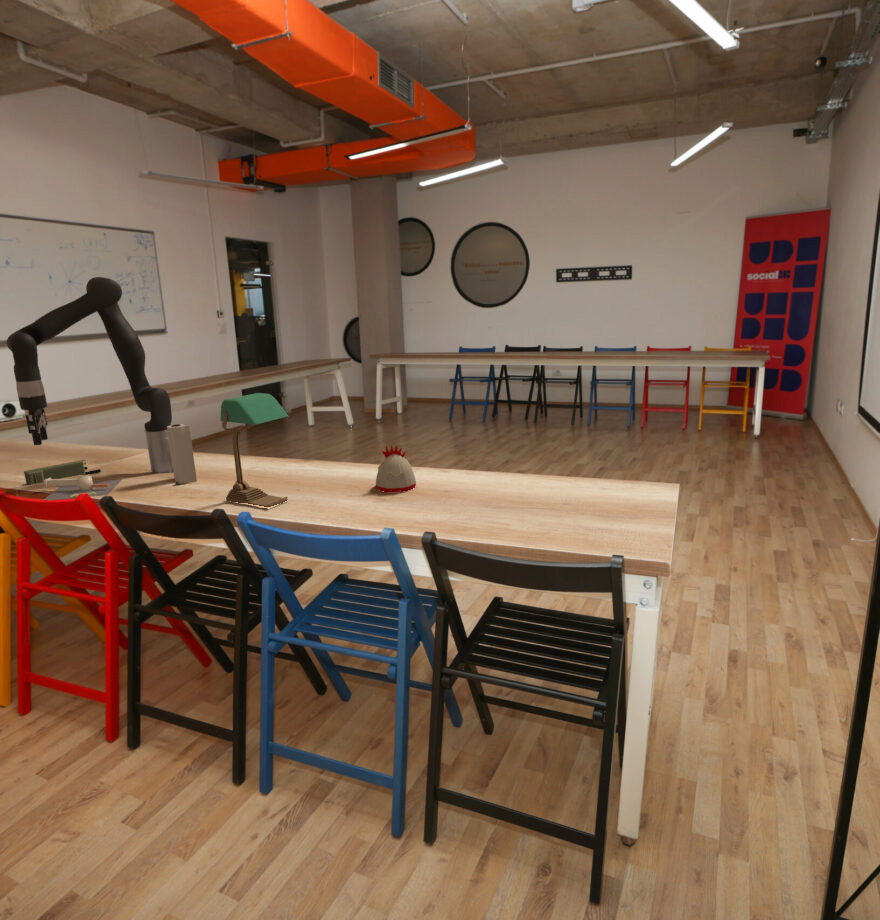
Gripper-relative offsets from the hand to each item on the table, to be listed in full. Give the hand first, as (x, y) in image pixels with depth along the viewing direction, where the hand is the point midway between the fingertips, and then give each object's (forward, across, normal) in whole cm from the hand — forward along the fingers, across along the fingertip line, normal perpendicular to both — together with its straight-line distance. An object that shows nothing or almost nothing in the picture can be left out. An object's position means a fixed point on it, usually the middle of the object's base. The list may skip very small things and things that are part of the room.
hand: (41, 442), depth 207 cm
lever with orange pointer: (+19, -4, +8) cm, 20 cm away
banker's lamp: (+20, +35, +66) cm, 77 cm away
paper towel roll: (+20, -2, +42) cm, 47 cm away
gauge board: (+20, -4, +9) cm, 23 cm away
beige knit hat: (+20, +39, +112) cm, 120 cm away
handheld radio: (+21, -26, -1) cm, 33 cm away
